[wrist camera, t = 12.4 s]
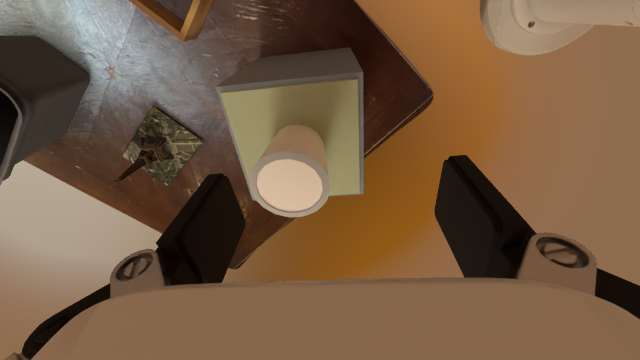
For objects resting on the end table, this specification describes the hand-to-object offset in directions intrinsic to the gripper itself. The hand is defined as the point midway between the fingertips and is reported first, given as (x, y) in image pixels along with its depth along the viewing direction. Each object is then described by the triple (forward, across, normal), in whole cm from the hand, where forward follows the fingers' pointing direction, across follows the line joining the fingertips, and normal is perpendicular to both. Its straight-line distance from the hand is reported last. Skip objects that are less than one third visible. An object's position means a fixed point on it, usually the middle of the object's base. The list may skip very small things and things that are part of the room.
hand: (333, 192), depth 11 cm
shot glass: (+15, +4, +5) cm, 16 cm away
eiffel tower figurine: (+33, +35, +12) cm, 49 cm away
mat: (+15, +4, +5) cm, 17 cm away
